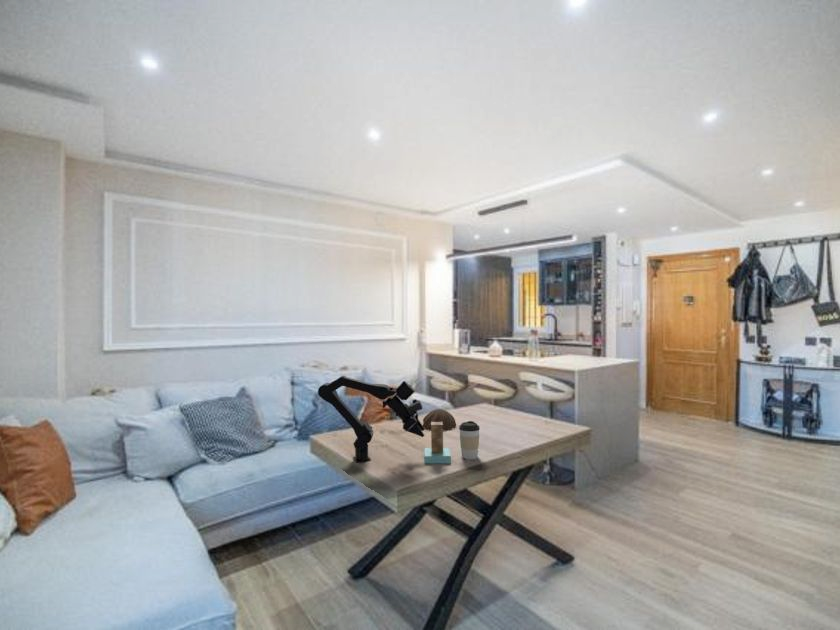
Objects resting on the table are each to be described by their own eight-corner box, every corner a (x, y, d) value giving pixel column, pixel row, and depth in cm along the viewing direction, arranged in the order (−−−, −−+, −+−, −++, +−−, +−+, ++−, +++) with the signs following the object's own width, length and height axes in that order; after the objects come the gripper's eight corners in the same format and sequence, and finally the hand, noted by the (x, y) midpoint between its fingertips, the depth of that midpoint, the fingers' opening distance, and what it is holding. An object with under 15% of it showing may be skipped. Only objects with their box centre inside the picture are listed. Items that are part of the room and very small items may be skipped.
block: (431, 453, 179) (431, 424, 179) (431, 450, 184) (431, 421, 184) (443, 453, 179) (442, 424, 179) (442, 450, 184) (442, 421, 184)
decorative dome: (459, 430, 227) (459, 412, 227) (423, 431, 225) (423, 413, 225) (453, 421, 246) (453, 404, 246) (420, 422, 244) (420, 405, 244)
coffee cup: (477, 461, 178) (476, 426, 178) (456, 458, 181) (456, 424, 181) (482, 454, 186) (481, 421, 186) (462, 452, 190) (462, 419, 190)
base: (424, 463, 176) (424, 456, 176) (424, 454, 187) (424, 448, 187) (450, 463, 176) (450, 456, 176) (449, 454, 187) (449, 447, 187)
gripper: (411, 399, 172) (437, 425, 172) (412, 390, 191) (436, 415, 191) (392, 417, 173) (418, 444, 172) (395, 407, 191) (419, 432, 191)
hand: (423, 433), depth 182 cm, fingers open, 9 cm apart
